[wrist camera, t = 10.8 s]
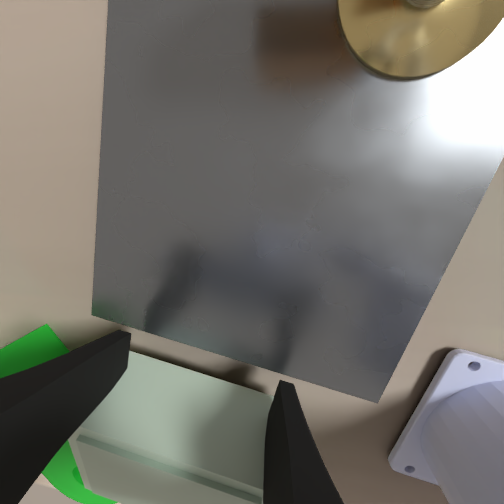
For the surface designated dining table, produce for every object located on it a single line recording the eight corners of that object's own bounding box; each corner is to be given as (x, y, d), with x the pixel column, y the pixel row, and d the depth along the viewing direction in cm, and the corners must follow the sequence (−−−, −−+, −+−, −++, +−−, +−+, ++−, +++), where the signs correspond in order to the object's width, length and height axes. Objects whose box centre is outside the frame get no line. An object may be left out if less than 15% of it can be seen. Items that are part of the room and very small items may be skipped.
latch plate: (661, -224, 6) (761, -335, 5) (369, 383, 12) (379, 407, 11) (152, -282, 7) (123, -386, 6) (108, 304, 13) (88, 316, 12)
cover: (289, 401, 12) (284, 505, 8) (258, 462, 15) (246, 554, 12) (121, 348, 12) (56, 425, 9) (127, 418, 15) (82, 493, 12)
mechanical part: (-5, 357, 16) (-269, 508, 8) (49, 322, 15) (-210, 465, 7) (101, 479, 18) (-37, 697, 10) (160, 458, 16) (50, 694, 9)
